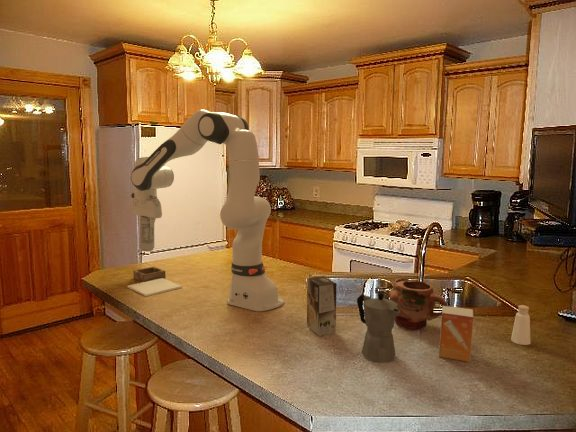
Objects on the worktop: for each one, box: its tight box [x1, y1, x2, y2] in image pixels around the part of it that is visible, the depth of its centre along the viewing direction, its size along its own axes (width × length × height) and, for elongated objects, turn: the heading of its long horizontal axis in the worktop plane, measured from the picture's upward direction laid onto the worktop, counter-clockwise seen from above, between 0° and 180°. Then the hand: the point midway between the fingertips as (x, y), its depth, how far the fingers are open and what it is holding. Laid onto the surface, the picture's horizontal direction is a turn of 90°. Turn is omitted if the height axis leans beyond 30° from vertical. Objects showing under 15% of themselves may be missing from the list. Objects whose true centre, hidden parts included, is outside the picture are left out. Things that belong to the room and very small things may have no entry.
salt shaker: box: [510, 304, 531, 346], centre depth 130 cm, size 5×5×11 cm
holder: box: [132, 266, 167, 283], centre depth 194 cm, size 10×10×4 cm
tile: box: [127, 278, 183, 297], centre depth 181 cm, size 16×16×1 cm
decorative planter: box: [388, 280, 448, 331], centre depth 141 cm, size 20×12×14 cm, turn 52°
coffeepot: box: [356, 292, 400, 363], centre depth 121 cm, size 15×9×18 cm, turn 35°
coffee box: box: [306, 275, 337, 337], centre depth 138 cm, size 9×6×16 cm
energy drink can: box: [139, 216, 155, 252], centre depth 191 cm, size 6×6×15 cm
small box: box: [438, 305, 474, 363], centre depth 121 cm, size 8×6×13 cm
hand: (147, 226), depth 191 cm, fingers closed on energy drink can, 6 cm apart
